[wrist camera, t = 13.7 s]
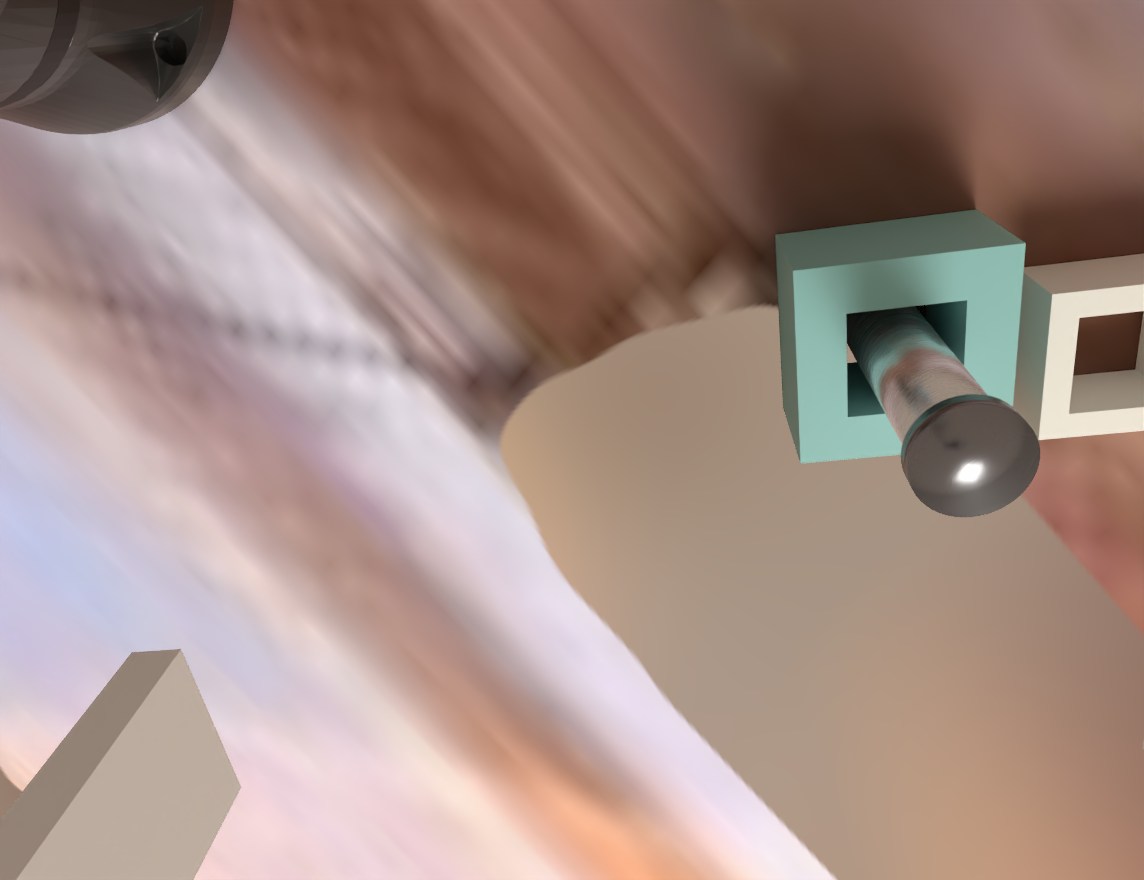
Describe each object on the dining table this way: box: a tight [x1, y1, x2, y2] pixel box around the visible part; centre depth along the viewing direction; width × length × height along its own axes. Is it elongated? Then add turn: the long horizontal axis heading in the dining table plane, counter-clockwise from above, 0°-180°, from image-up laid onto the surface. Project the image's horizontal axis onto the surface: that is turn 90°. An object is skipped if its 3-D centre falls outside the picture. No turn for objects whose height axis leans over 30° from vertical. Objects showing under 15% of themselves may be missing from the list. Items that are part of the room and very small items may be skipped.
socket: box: [775, 209, 1026, 463], centre depth 40 cm, size 9×9×6 cm
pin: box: [846, 306, 1040, 517], centre depth 36 cm, size 4×4×15 cm
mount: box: [1013, 254, 1144, 440], centre depth 41 cm, size 7×7×4 cm
